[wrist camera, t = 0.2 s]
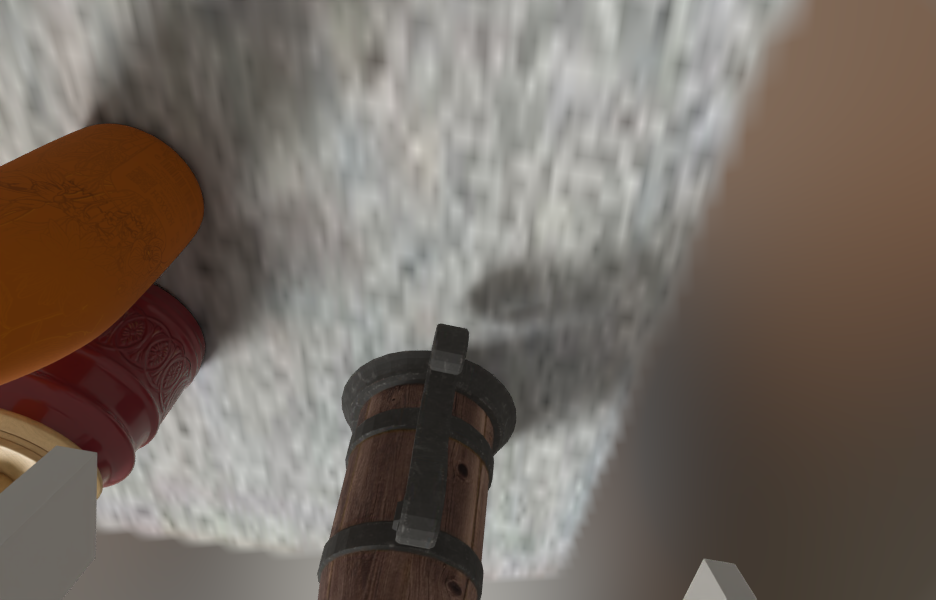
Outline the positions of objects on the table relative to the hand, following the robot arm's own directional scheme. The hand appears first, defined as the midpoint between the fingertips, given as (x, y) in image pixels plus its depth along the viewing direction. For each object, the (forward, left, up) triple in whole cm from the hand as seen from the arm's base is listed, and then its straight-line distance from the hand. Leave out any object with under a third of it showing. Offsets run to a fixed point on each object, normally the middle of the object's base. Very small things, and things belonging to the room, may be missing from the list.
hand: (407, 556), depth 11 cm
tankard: (+15, +20, -28) cm, 37 cm away
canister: (+35, +2, -28) cm, 45 cm away
